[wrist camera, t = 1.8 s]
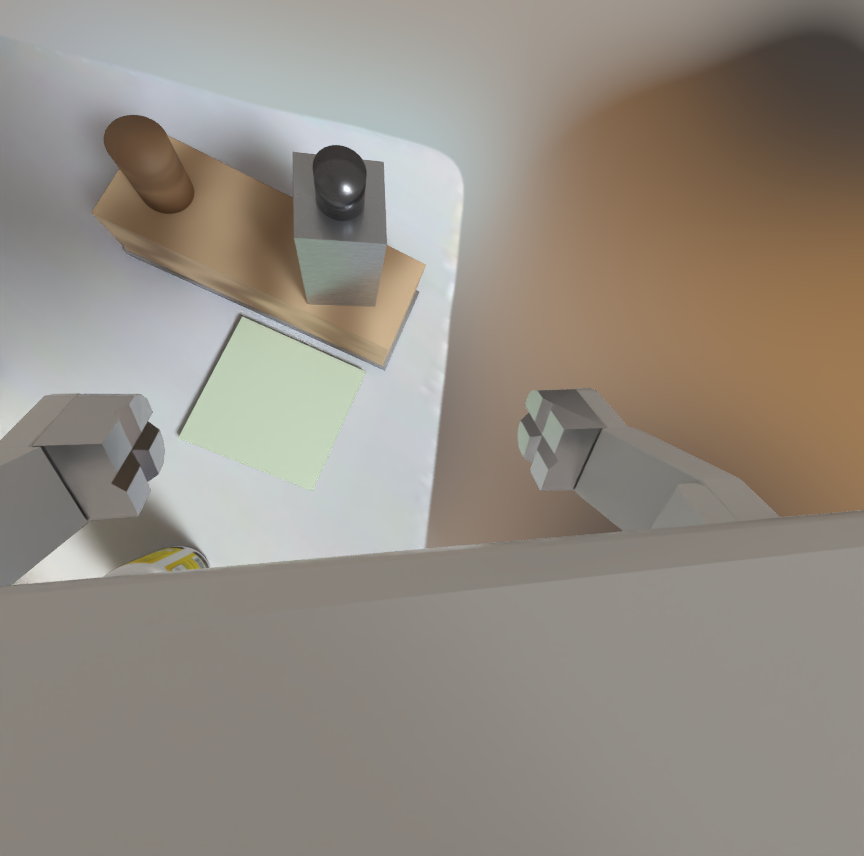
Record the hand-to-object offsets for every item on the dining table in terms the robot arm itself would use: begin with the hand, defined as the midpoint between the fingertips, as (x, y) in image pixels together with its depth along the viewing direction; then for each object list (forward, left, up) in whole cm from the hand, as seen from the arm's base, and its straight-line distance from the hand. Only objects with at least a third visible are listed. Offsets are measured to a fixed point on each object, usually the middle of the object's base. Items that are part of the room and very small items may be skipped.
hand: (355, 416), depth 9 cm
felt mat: (-6, +2, -23) cm, 24 cm away
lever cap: (-5, +11, -18) cm, 22 cm away
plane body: (-10, +11, -23) cm, 28 cm away
